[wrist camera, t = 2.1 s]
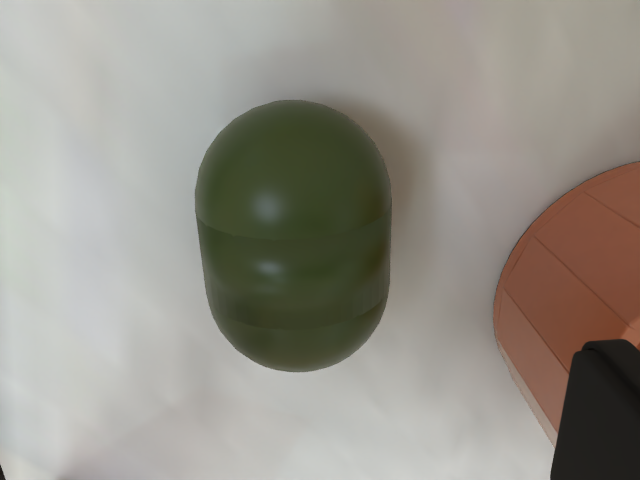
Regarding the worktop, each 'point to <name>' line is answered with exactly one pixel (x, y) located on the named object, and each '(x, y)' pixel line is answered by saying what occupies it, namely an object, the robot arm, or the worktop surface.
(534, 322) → the terracotta bowl
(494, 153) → the worktop surface
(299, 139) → the avocado
